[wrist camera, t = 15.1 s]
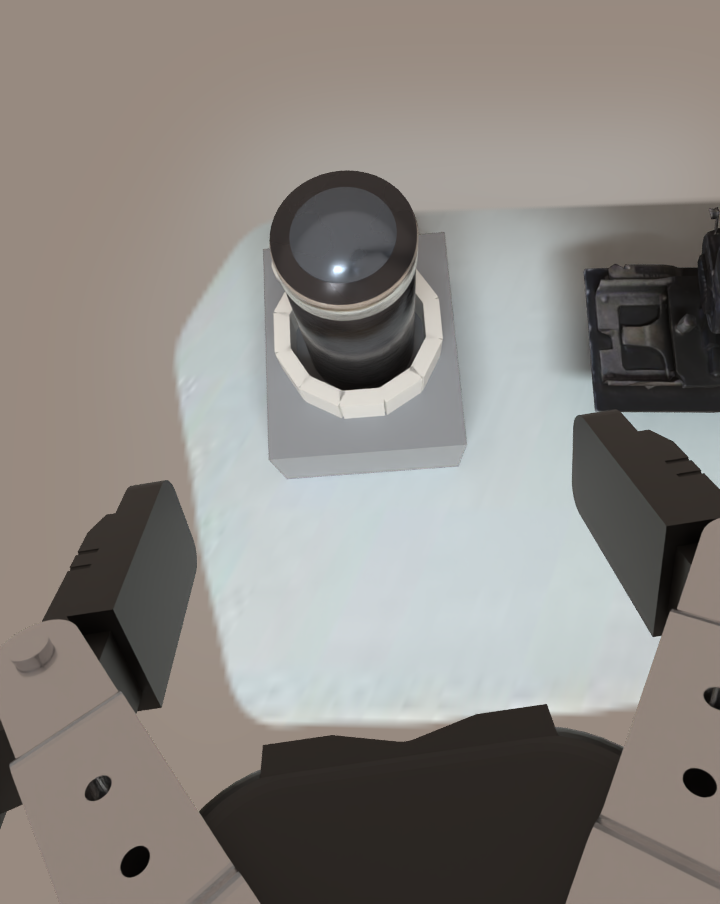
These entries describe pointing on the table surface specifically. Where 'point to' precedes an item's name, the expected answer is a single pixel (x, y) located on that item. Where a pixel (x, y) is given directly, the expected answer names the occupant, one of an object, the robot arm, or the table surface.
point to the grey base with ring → (367, 390)
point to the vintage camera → (656, 334)
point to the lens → (350, 275)
